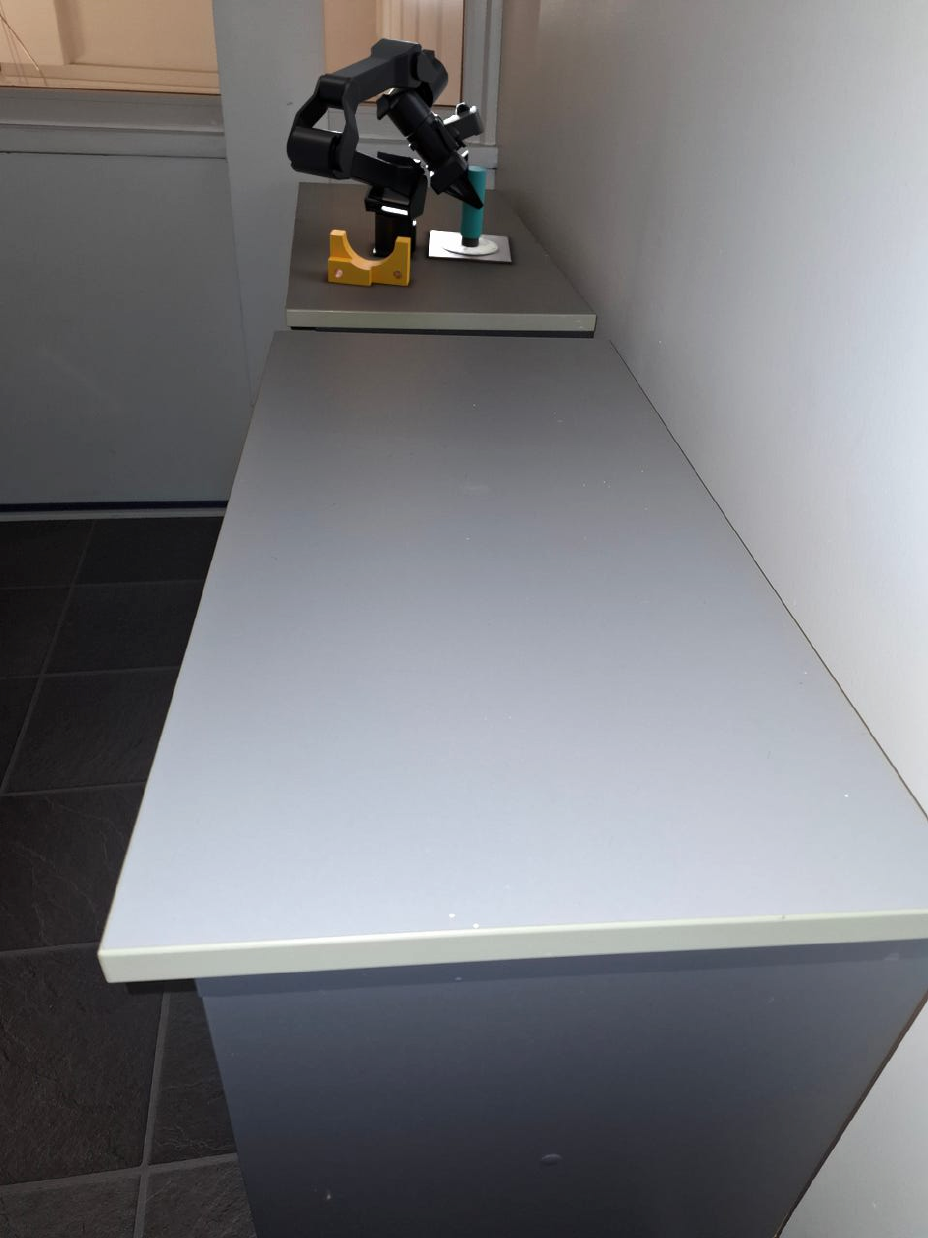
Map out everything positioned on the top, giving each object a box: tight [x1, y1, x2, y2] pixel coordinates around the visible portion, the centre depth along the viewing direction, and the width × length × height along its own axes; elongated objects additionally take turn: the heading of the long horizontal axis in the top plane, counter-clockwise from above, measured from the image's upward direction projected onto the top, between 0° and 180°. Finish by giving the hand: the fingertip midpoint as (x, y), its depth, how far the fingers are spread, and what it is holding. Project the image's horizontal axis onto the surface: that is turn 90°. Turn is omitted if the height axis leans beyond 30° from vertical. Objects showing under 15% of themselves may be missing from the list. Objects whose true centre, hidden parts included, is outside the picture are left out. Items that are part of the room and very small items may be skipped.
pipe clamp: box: [327, 229, 411, 287], centre depth 132 cm, size 12×4×6 cm, turn 84°
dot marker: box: [459, 165, 488, 248], centre depth 144 cm, size 4×4×12 cm
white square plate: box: [428, 230, 512, 265], centre depth 150 cm, size 14×14×1 cm
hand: (481, 204), depth 144 cm, fingers closed on dot marker, 3 cm apart
